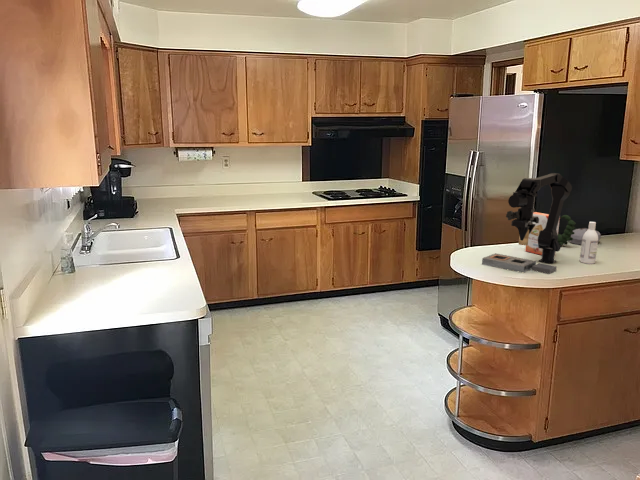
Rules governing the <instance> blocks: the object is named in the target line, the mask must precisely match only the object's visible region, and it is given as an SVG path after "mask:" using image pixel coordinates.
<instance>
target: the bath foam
mask: <svg viewBox="0 0 640 480" xmlns="http://www.w3.org/2000/svg"><path fill="white" fill-rule="evenodd" d="M596 224H597V222H596V221H589V223H588V228H587V229H588V230H587V231H586V232H585V233H584V235H583V238H582V245H581V246H580V252H579V253H580V254H579V262H580V263H583V264H589V265H592V264H595V263H596V259H597V253H598V252H597V251H598V245H599V241H598V235H597V233H596V231H597V230H596V226H597V225H596Z"/></svg>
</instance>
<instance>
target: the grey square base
mask: <svg viewBox="0 0 640 480" xmlns="http://www.w3.org/2000/svg"><path fill="white" fill-rule="evenodd" d="M532 270H534V272H537V271H538V272H539V273H542V272H543V274H548V275H550V274H552V273H554V272H556V271H557V266H556V265H552V264H551V265H550V264H547V263H542V262H539V263H536V265H534V266H532V269H531V271H532ZM538 272H537V273H538Z"/></svg>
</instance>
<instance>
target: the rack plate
mask: <svg viewBox="0 0 640 480" xmlns="http://www.w3.org/2000/svg"><path fill="white" fill-rule="evenodd" d="M481 260H482V261H481V265H484V266H489V267H492V268H493V267H494V268H498V269H502V268H503V270H507V269H508V271H512V270H514V271H513V272H517V271H519V272H518V273H522V272H524V273H526V272H528V270H529V271H531V270H532V266H534V265H536V264H537V260H534V259H527V258H523V257H517V256H513V255H512V256H511V255H507V254H502V253H493V254H490V255H487V256H485V257H482V259H481ZM530 269H531V270H530Z"/></svg>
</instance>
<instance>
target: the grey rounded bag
mask: <svg viewBox="0 0 640 480" xmlns="http://www.w3.org/2000/svg"><path fill="white" fill-rule="evenodd" d="M587 230H588V228H586V227H582V228H575V229H573V230H572V231H573V232H574V234H572V235H571V237H572V238H573V240H570V241H568V243H572V244H575V245H579V244H580V245H582V238H583V235H584V233H585V232H586V231H587ZM595 231H596V233H597V235H598V242H600V241H601V238H602V237H601V236H602V234H601V233H600V232H599V231H598V230H595Z"/></svg>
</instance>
